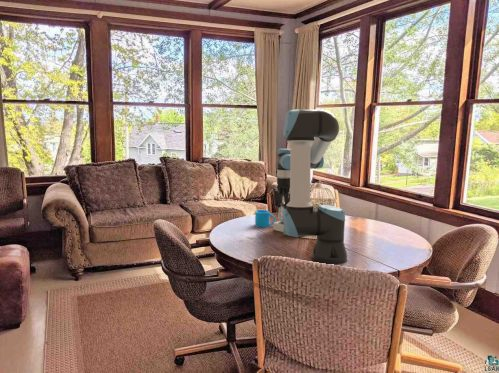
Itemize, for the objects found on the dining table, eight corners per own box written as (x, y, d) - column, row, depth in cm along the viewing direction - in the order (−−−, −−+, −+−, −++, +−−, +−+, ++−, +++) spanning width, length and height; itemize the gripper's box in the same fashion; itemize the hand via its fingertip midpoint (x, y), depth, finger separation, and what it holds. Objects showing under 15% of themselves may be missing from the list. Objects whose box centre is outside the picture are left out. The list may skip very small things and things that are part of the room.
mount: (291, 229, 228) (291, 222, 227) (283, 232, 223) (284, 225, 222) (281, 227, 232) (281, 220, 232) (273, 229, 227) (273, 222, 227)
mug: (253, 226, 235) (253, 212, 233) (258, 223, 242) (258, 209, 241) (273, 228, 230) (273, 214, 229) (277, 225, 238) (277, 211, 237)
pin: (288, 229, 227) (288, 203, 225) (283, 231, 224) (284, 204, 222) (282, 228, 230) (282, 202, 228) (277, 229, 227) (278, 203, 225)
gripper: (300, 178, 220) (298, 220, 224) (276, 175, 231) (275, 216, 234) (291, 179, 215) (290, 223, 218) (268, 176, 225) (267, 218, 229)
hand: (283, 219), depth 226 cm, fingers closed on pin, 3 cm apart
